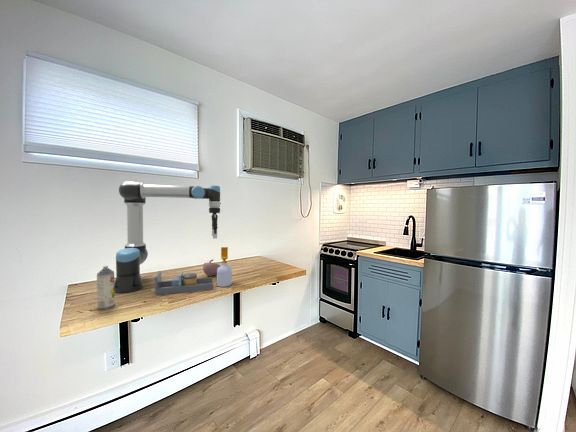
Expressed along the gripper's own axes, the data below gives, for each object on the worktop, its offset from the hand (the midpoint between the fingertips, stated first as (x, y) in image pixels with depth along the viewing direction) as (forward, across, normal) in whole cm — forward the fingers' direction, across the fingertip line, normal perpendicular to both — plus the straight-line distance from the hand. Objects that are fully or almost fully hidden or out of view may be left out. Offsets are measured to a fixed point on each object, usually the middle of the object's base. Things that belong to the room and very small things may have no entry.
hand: (214, 237), depth 166 cm
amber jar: (+28, -20, +16) cm, 38 cm away
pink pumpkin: (+28, +2, +2) cm, 28 cm away
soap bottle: (+28, -21, -5) cm, 36 cm away
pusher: (+28, -20, +23) cm, 41 cm away
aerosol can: (+28, -35, +53) cm, 70 cm away
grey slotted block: (+28, -20, +17) cm, 39 cm away
